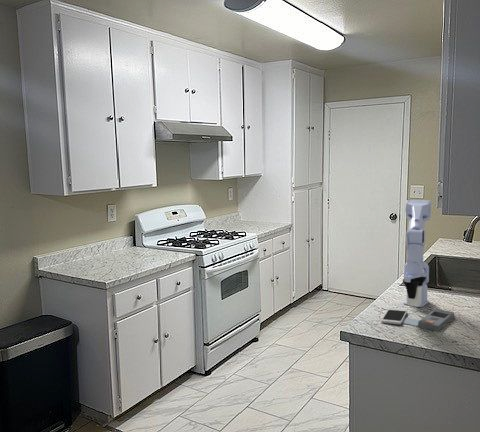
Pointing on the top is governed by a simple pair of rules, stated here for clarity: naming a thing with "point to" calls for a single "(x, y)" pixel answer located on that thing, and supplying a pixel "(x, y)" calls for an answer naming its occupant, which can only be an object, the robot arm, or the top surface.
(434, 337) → the top surface
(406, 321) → the sticky note
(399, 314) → the smartphone
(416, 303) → the charger plug
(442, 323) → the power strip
